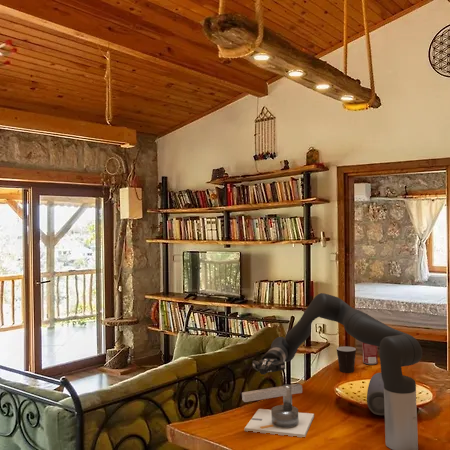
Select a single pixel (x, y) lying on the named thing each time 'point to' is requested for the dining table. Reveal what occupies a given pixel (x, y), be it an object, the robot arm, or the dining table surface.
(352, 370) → the coffee mug
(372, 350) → the soda can
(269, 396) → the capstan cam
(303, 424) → the board
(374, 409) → the bluetooth speaker
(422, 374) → the dining table surface
